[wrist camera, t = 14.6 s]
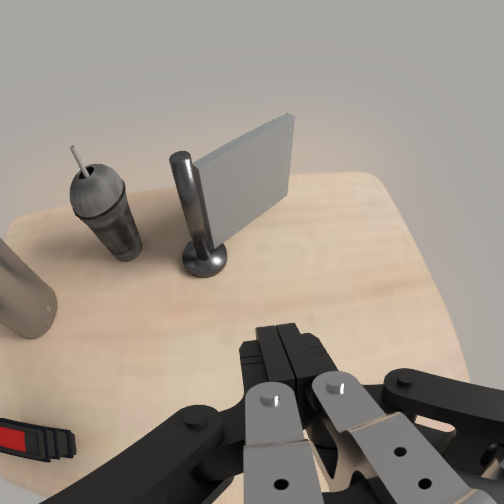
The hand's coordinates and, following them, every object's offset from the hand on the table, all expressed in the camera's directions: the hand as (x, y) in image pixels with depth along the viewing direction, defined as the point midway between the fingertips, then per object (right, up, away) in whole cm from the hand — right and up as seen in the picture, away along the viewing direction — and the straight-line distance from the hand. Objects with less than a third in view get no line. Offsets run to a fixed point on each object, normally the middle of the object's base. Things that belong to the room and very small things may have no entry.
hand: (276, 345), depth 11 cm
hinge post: (-7, +3, +29) cm, 30 cm away
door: (-2, +9, +31) cm, 33 cm away
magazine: (-27, -21, +15) cm, 37 cm away
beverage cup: (-19, +4, +31) cm, 36 cm away
